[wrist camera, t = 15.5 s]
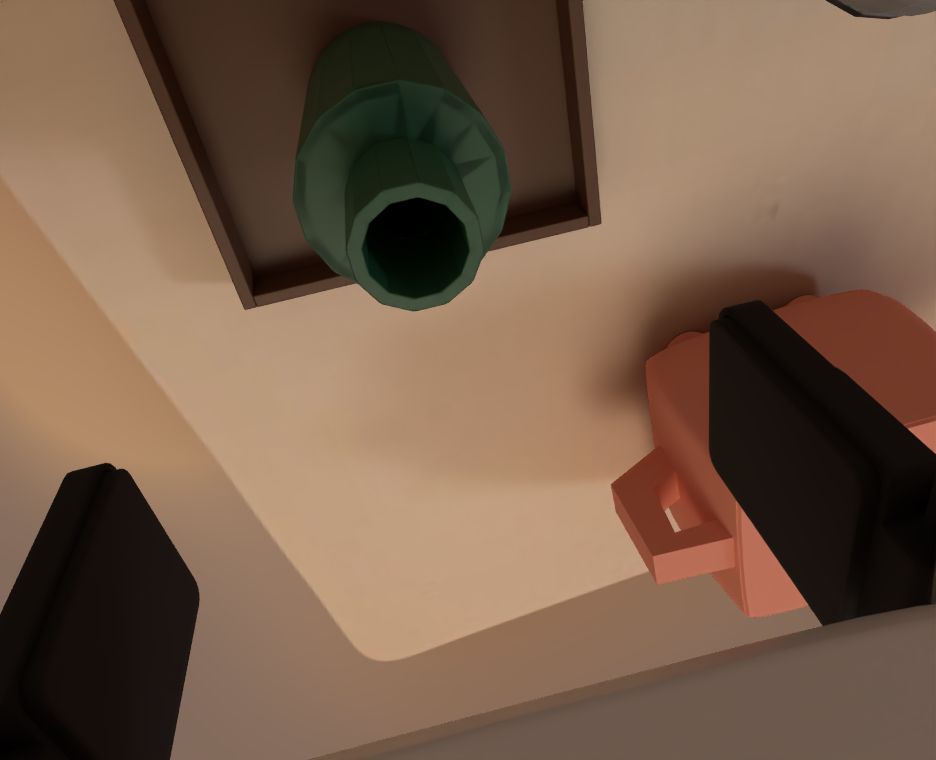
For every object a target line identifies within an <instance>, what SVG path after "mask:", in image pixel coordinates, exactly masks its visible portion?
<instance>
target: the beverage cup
mask: <svg viewBox="0 0 936 760" xmlns="http://www.w3.org/2000/svg"><path fill="white" fill-rule="evenodd" d="M826 1H828V2H829V3H831V4H833V5H835V6H837V7H838V8H840V9H842V10H844V11H846V12H847V13H849V14H851V15H853V16H854V17H867V18H880V19H891V18H896V17H900V16H903V15H905V16H914V15H920V14H926V13H930V12H933V11H936V0H826Z"/></svg>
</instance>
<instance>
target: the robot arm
mask: <svg viewBox="0 0 936 760" xmlns="http://www.w3.org/2000/svg"><path fill="white" fill-rule="evenodd" d="M709 454H710V458H711V461H712V464H713V466H714V468H715V470H716V472H717V473H718V475H719V476H720V478H721V479H722V480H723V482H724V483H725V485H726V486H727V488H728V489H729V491H730V492H731V494H732V495H733V496H734V498H735V499H736V501H737V502H738V504H739V505H740V507H741V508H742V509H743V511H744V512H745V514H746V515H747V517H748V518H749V520H750V521H751V522H752V524H753V525H754V527H755V528H756V530H757V531H758V533H759V534H760V536H761V537H762V538H763V540H764V541H765V543H766V544H767V546H768V547H769V549H770V550H771V551H772V553H773V554H774V556H775V557H776V559H777V560H778V562H779V563H780V565H781V566H782V567H783V569H784V570H785V572H786V573H787V575H788V576H789V578H790V579H791V580H792V582H793V583H794V585H795V586H796V588H797V589H798V591H799V592H800V594H801V595H802V596H803V598H804V599H805V601H806V602H807V604H808V605H809V606H810V608H811V609H812V611H813V612H814V613H815V615H816V616H817V618H818V620H819V621H820V623H821V624H822V625H823V626H821V627H818V628H813V629H809V630H805V631H801V632H797V633H792V634H788V635H784V636H780V637H775V638H772V639H767V640H763V641H759V642H755V643H751V644H747V645H743V646H739V647H735V648H731V649H727V650H723V651H720V652H716V653H712V654H708V655H704V656H700V657H696V658H692V659H689V660H685V661H681V662H677V663H673V664H669V665H666V666H662V667H658V668H654V669H650V670H646V671H642V672H638V673H635V674H631V675H627V676H623V677H619V678H615V679H612V680H607V681H603V682H600V683H596V684H592V685H588V686H584V687H580V688H576V689H573V690H569V691H565V692H561V693H557V694H554V695H550V696H546V697H542V698H539V699H535V700H531V701H527V702H523V703H519V704H516V705H512V706H508V707H504V708H501V709H497V710H493V711H489V712H486V713H481V714H478V715H474V716H470V717H466V718H463V719H459V720H455V721H451V722H447V723H444V724H440V725H436V726H432V727H429V728H425V729H421V730H417V731H414V732H410V733H406V734H402V735H398V736H395V737H391V738H387V739H384V740H380V741H376V742H372V743H368V744H364V745H361V746H357V747H354V748H350V749H346V750H342V751H339V752H335V753H331V754H327V755H324V756H320V757H316V758H313V759H309V760H936V454H935V453H934V452H933V451H932V450H931V449H930V448H929V447H927V446H926V445H925V444H924V443H923V442H922V441H921V440H920V439H919V438H917V437H916V436H915V435H914V434H913V433H912V432H911V431H910V430H908V429H907V428H906V427H905V426H904V425H903V424H902V423H901V422H900V421H898V420H897V419H896V418H895V417H894V416H893V415H892V414H891V413H890V412H888V411H887V410H886V409H885V408H884V407H883V406H882V405H881V404H879V403H878V402H877V401H876V400H875V399H874V398H873V397H872V396H871V395H869V394H868V393H867V392H866V391H865V390H864V389H863V388H862V387H860V386H859V385H858V384H857V383H856V382H855V381H854V380H853V379H852V378H850V377H849V376H848V375H847V374H846V373H845V372H843V371H842V370H840V369H839V368H837V367H835V366H833V365H832V364H831V363H830V362H829V361H828V360H827V359H826V358H825V357H824V356H822V355H821V354H820V353H819V352H818V351H817V350H816V349H815V348H814V347H812V346H811V345H810V344H809V343H808V342H807V341H806V340H805V339H804V338H802V337H801V336H800V335H799V334H798V333H797V332H796V331H795V330H794V329H792V328H791V327H790V326H789V325H788V324H787V323H786V322H785V321H784V320H783V319H781V318H780V317H779V316H778V315H777V314H776V313H775V312H774V311H773V310H771V309H770V308H769V307H768V306H767V305H766V304H765V303H763V302H762V301H760V300H755V301H751V302H747V303H743V304H739V305H735V306H731V307H727V308H724V309H722V310H721V312H720V314H719V319H717V320H713V321H712V322H711V324H710V329H709ZM198 607H199V590H198V586H197V583H196V581H195V579H194V577H193V576H192V574H191V572H190V571H189V569H188V567H187V566H186V564H185V562H184V561H183V559H182V558H181V556H180V554H179V553H178V551H177V549H176V548H175V546H174V545H173V543H172V542H171V540H170V539H169V537H168V535H167V534H166V532H165V530H164V528H163V527H162V525H161V524H160V522H159V521H158V519H157V517H156V515H155V514H154V512H153V511H152V509H151V507H150V506H149V504H148V503H147V501H146V499H145V498H144V496H143V494H142V493H141V491H140V489H139V488H138V486H137V485H136V483H135V481H134V480H133V478H132V476H131V475H130V474H129V473H128V471H126V470H125V469H118V470H117V469H116V468H115V467H114V466H113V465H111V464H109V463H104V464H100V465H96V466H92V467H88V468H84V469H80V470H76V471H72V472H70V473H68V474H67V475H66V476H65V478H64V479H63V481H62V483H61V486H60V488H59V490H58V492H57V494H56V496H55V498H54V500H53V503H52V505H51V507H50V509H49V511H48V513H47V516H46V518H45V520H44V522H43V524H42V526H41V528H40V530H39V533H38V535H37V537H36V539H35V541H34V543H33V545H32V547H31V550H30V552H29V554H28V556H27V558H26V560H25V563H24V565H23V567H22V569H21V571H20V573H19V576H18V578H17V580H16V582H15V584H14V586H13V589H12V590H11V592H10V594H9V597H8V599H7V601H6V603H5V605H4V607H3V610H2V612H1V614H0V760H170V756H171V750H172V745H173V740H174V734H175V730H176V724H177V719H178V714H179V708H180V702H181V698H182V692H183V687H184V682H185V676H186V671H187V666H188V660H189V655H190V650H191V644H192V639H193V633H194V629H195V623H196V618H197V612H198Z"/></svg>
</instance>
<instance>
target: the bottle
mask: <svg viewBox="0 0 936 760" xmlns="http://www.w3.org/2000/svg"><path fill="white" fill-rule="evenodd" d="M511 190H512V189H511V183H510V177H509V170H508V164H507V158H506V151H505V149H504V147H503V145H502V144H501V142H500V141H499V139H498V137H497V136H496V134H495V133H494V131H493V129H492V128H491V126H490V125H489V123H488V121H487V120H486V118H485V117H484V115H483V114H482V112H481V111H480V109H479V108H478V106H477V105H476V103H475V102H474V100H473V99H472V97H471V96H470V94H469V93H468V92H467V90H466V89H465V87H464V86H463V84H462V83H461V81H460V80H459V78H458V77H457V75H456V74H455V72H454V71H453V70H452V68H451V67H450V65H449V64H448V62H447V61H446V59H445V58H444V56H443V55H442V53H441V52H440V50H439V49H438V48H437V47H436V46H435V45H434V44H432V43H431V42H430V41H429V40H428V39H427V38H425V37H424V36H423V35H421V34H420V33H418V32H416V31H415V30H413V29H411V28H408V27H406V26H403V25H400V24H396V23H391V22H369V23H363V24H360V25H357V26H354V27H352V28H350V29H348V30H346V31H344V32H342V33H341V34H339V35H338V36H336V37H335V38H334V39H333V40H332V41H331V42H330V43H329V44H328V45H327V46H326V47H325V48H324V50H323V51H322V53H321V54H320V56H319V57H318V59H317V61H316V63H315V65H314V68H313V70H312V72H311V74H310V77H309V81H308V87H307V93H306V99H305V105H304V111H303V117H302V123H301V129H300V134H299V140H298V146H297V152H296V158H295V171H294V184H293V197H292V199H293V204H294V207H295V210H296V213H297V216H298V219H299V222H300V225H301V228H302V230H303V233H304V236H305V239H306V240H307V242H308V243H309V244H310V246H311V247H312V248H313V249H314V250H315V251H316V252H317V254H318V255H319V256H320V257H321V258H322V259H323V260H324V262H325V263H326V264H327V265H328V266H329V267H330V268H331V269H332V270H333V271H334V272H335V273H337V274H339V275H341V276H343V277H345V278H347V279H349V280H351V281H353V282H355V283H357V284H359V285H360V286H361V287H362V288H363V289H365V290H366V291H367V292H368V293H369V294H370V295H371V296H372V297H374V298H375V299H376V300H377V301H378V302H379V303H381V304H383V305H388V306H392V307H396V308H401V309H405V310H409V311H419V310H423V309H427V308H431V307H436V306H440V305H444V304H447V303H449V302H450V301H451V300H452V299H453V298H455V297H456V296H457V295H458V294H459V293H460V292H462V291H463V290H464V289H465V288H466V287H467V286H469V285H470V284H471V283H472V281H473V280H474V278H475V275H476V273H477V270H478V267H479V265H480V262H481V260H482V259H483V257H484V256H485V254H486V253H487V252H488V250H489V249H490V247H491V246H492V245H493V243H494V242H495V240H496V239H497V237H498V236H499V235H500V233H501V232H502V229H503V226H504V222H505V217H506V213H507V209H508V205H509V201H510V197H511Z"/></svg>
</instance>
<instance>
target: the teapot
mask: <svg viewBox="0 0 936 760" xmlns="http://www.w3.org/2000/svg"><path fill="white" fill-rule="evenodd" d="M773 311H774V312H775V313H776V314H777V315H778V316H779V317H780V318H781V319H783V320H784V321H785V322H786V323H787V324H788V325H789V326H790V327H791V328H792V329H794V330H795V331H796V332H797V333H798V334H799V335H800V336H801V337H802V338H804V339H805V340H806V341H807V342H808V343H809V344H810V345H811V346H812V347H814V348H815V349H816V350H817V351H818V352H819V353H820V354H821V355H822V356H824V357H825V358H826V359H827V360H828V361H829V362H830V363H831V364H832V365H833V366H835V367H837V368H839V369H840V370H842V371H843V372H845V373H846V374H847V375H848V376H849V377H850V378H852V379H853V380H854V381H855V382H856V383H857V384H858V385H859V386H860V387H862V388H863V389H864V390H865V391H866V392H867V393H868V394H869V395H871V396H872V397H873V398H874V399H875V400H876V401H877V402H878V403H879V404H881V405H882V406H883V407H884V408H885V409H886V410H887V411H888V412H890V413H891V414H892V415H893V416H894V417H895V418H896V419H897V420H898V421H900V422H901V423H902V424H903V425H904V426H905V427H906V428H907V429H908V430H910V431H911V432H912V433H913V434H914V435H915V436H916V437H917V438H919V439H920V440H921V441H922V442H923V443H924V444H925V445H926V446H927V447H929V448H930V449H931V450H932V451H933V452H934V453H935V454H936V332H935V331H934V330H933V329H932V328H931V327H930V326H929V325H927V324H926V323H925V322H924V321H923V320H922V319H920V318H919V317H918V316H917V315H916V314H914V313H913V312H912V311H911V310H909V309H908V308H906V307H905V306H904V305H902V304H901V303H900V302H898V301H896V300H894V299H892V298H889V297H886V296H884V295H881V294H878V293H876V292H872V291H868V290H855V291H848V292H843V293H839V294H834V295H829V296H825V297H821V298H818V297H816V296H813V295H805V296H801V297H798V298H796V299H794V300H792V301H791V302H790V303H788V304H787V305H786V306H785V307H782V308H778V309H774V310H773ZM646 381H647V392H648V400H649V408H650V416H651V423H652V430H653V436H654V442H655V448H656V449H654V450H653V451H652V452H651V453H649V454H648V455H647V456H646V457H644V458H643V459H642V460H641V461H639V462H638V463H637V464H636V465H634V466H633V467H632V468H631V469H629V470H628V471H627V472H626V473H624V474H623V475H622V476H621V477H619V478H618V479H617V480H616V481H614V482H613V483H612V484H611V488H612V493H613V499H614V504H615V509H616V513H617V514H618V516H619V518H620V520H621V522H622V523H623V525H624V527H625V529H626V530H627V532H628V534H629V536H630V537H631V539H632V541H633V543H634V545H635V546H636V548H637V550H638V552H639V553H640V555H641V557H642V559H643V560H644V562H645V564H646V566H647V568H648V569H649V571H650V573H651V575H652V576H653V578H654V580H655V582H656V583H657V585H658V584H662V583H667V582H671V581H675V580H680V579H684V578H689V577H692V576H697V575H702V574H706V573H711V574H712V575H713V577H714V578H715V579H716V581H717V582H718V583H719V584H720V586H721V587H722V588H723V589H724V591H725V592H726V593H727V594H728V595H729V596H730V598H731V599H732V600H733V601H734V603H735V604H736V605H737V606H738V607H739V608H740V609H741V611H742V612H743V613H744V614H745V615H746V616H749V617H763V616H769V615H774V614H778V613H782V612H787V611H791V610H794V609H799V608H802V607H806V606H809V605H808V604H807V602H806V601H805V599H804V598H803V596H802V595H801V594H800V592H799V591H798V589H797V588H796V586H795V585H794V583H793V582H792V580H791V579H790V578H789V576H788V575H787V573H786V572H785V570H784V569H783V567H782V566H781V565H780V563H779V562H778V560H777V559H776V557H775V556H774V554H773V553H772V551H771V550H770V549H769V547H768V546H767V544H766V543H765V541H764V540H763V538H762V537H761V536H760V534H759V533H758V531H757V530H756V528H755V527H754V525H753V524H752V522H751V521H750V520H749V518H748V517H747V515H746V514H745V512H744V511H743V509H742V508H741V507H740V505H739V504H738V502H737V501H736V499H735V498H734V496H733V495H732V494H731V492H730V491H729V489H728V488H727V486H726V485H725V483H724V482H723V480H722V479H721V478H720V476H719V475H718V473H717V472H716V470H715V468H714V466H713V464H712V461H711V458H710V454H709V332H707V333H704V334H702V333H699V332H686V333H683V334H681V335H679V336H677V337H676V338H674V339H673V340H672V341H671V342H670V343H669V344H668V346H667V347H666V349H665V350H663V351H661V352H659V353H657V354H655V355H654V356H652V357H651V358H649V359H648V361H647V362H646ZM668 507H669V508H670V511H671V513H672V515H673V517H674V519H675V521H676V522H677V524H678V526H679V528H680V529H681V531H679V532H676V533H675V532H674V530H673V528H672V526H671V524H670V522H669V519H668V517H667V515H666V513H665V510H666V509H667V508H668Z"/></svg>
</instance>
